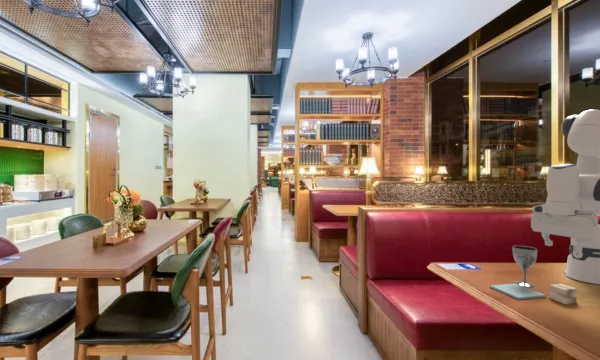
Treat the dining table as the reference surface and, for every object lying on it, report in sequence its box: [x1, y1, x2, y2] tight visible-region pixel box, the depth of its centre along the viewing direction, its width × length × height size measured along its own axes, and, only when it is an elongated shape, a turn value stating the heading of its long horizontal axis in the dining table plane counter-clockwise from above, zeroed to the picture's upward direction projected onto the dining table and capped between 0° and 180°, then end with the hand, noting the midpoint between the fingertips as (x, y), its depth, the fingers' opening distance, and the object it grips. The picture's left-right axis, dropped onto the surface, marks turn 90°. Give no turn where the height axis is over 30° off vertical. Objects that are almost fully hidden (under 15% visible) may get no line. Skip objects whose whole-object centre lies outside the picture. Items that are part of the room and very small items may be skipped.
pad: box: [489, 283, 547, 301], centre depth 110 cm, size 12×12×1 cm
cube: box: [549, 283, 578, 305], centre depth 102 cm, size 5×5×5 cm
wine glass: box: [512, 245, 538, 288], centre depth 118 cm, size 8×8×15 cm
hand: (562, 248), depth 102 cm, fingers open, 8 cm apart
